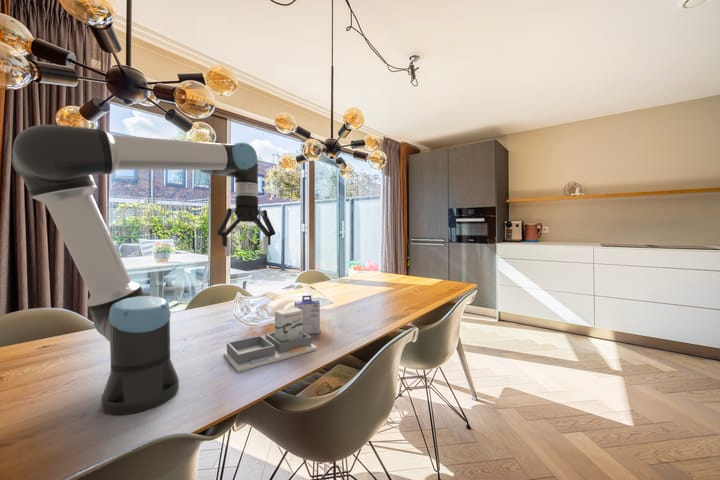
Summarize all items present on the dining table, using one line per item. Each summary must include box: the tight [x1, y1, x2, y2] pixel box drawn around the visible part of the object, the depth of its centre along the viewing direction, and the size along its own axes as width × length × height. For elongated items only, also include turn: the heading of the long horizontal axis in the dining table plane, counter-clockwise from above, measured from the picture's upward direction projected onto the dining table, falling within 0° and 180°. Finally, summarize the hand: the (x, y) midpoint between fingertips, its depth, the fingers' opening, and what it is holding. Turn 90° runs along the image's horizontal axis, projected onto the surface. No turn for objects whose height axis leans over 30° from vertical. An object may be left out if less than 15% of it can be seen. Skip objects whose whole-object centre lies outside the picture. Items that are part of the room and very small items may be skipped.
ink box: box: [274, 307, 303, 343], centre depth 104 cm, size 9×5×12 cm, turn 133°
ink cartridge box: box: [294, 295, 321, 335], centre depth 119 cm, size 10×6×14 cm, turn 106°
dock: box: [223, 331, 318, 373], centre depth 99 cm, size 26×15×4 cm, turn 129°
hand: (247, 255), depth 107 cm, fingers open, 13 cm apart
